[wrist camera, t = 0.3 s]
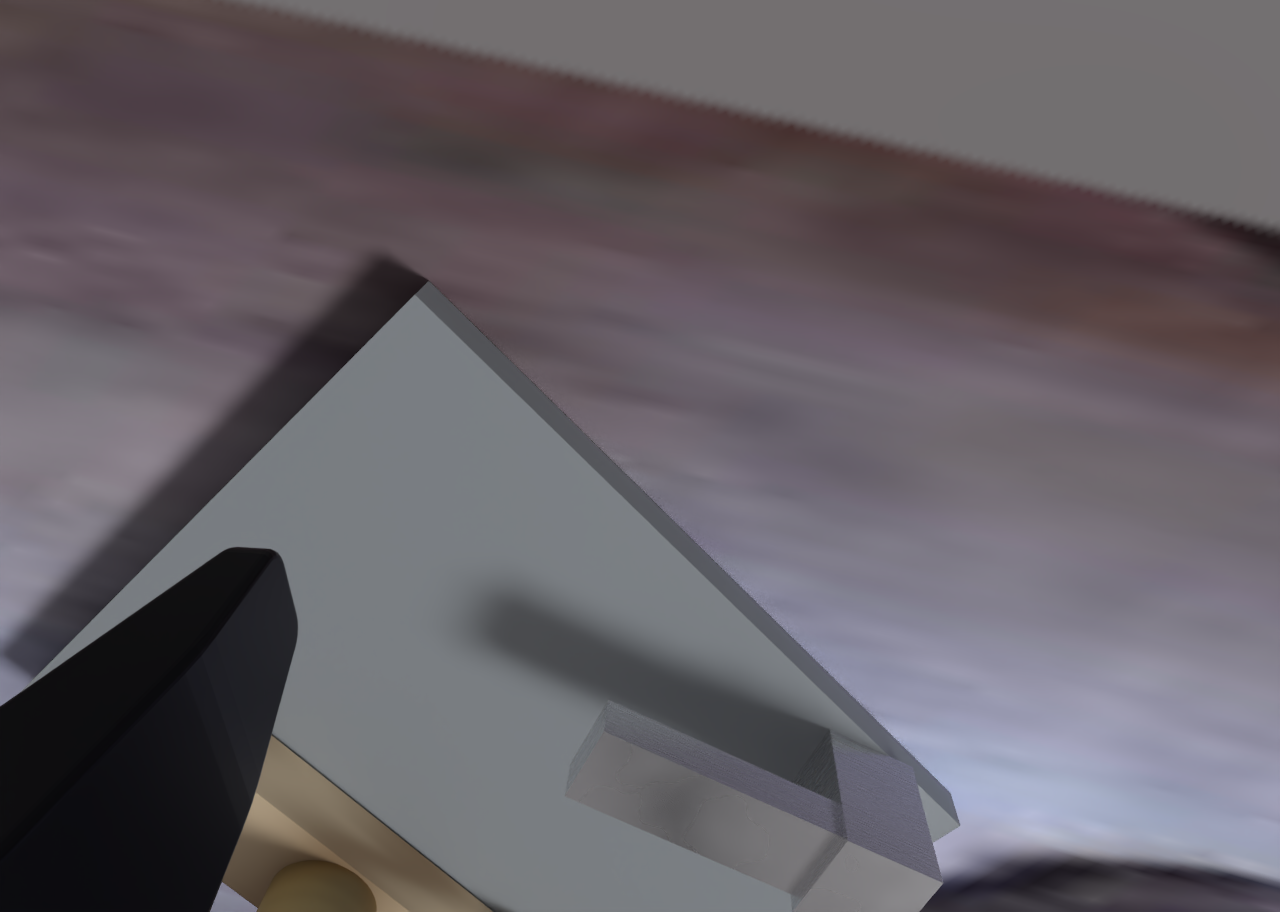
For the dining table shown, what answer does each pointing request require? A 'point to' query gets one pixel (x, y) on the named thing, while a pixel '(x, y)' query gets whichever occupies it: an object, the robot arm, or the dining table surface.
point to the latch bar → (329, 852)
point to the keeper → (769, 812)
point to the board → (502, 626)
